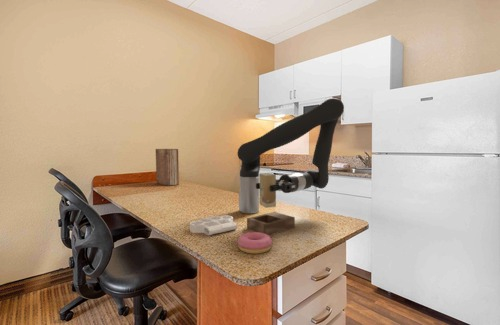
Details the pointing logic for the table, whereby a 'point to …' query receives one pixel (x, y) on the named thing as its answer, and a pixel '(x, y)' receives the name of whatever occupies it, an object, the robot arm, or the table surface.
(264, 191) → the skincare box
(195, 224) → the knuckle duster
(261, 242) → the doughnut
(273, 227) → the walnut holder
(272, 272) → the table surface
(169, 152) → the brown wooden block
